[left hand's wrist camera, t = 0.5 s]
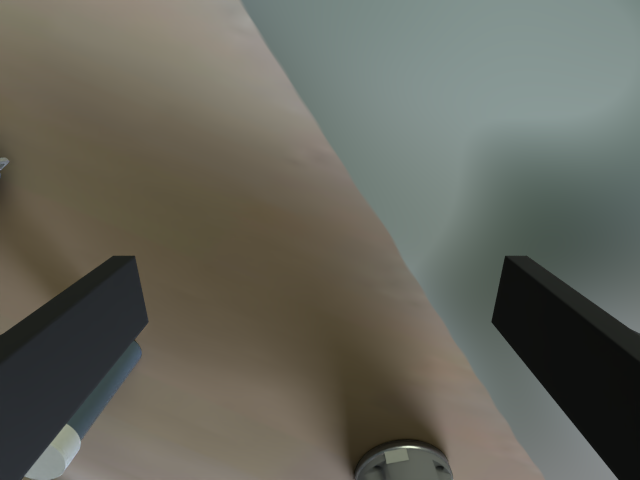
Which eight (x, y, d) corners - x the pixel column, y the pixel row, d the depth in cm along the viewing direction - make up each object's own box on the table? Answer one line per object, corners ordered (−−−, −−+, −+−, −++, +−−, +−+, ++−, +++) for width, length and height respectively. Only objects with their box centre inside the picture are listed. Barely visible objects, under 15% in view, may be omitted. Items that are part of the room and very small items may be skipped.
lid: (41, 408, 33) (21, 428, 31) (91, 438, 35) (77, 460, 33) (12, 438, 35) (-8, 459, 33) (62, 466, 36) (46, 488, 34)
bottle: (118, 329, 46) (27, 428, 32) (148, 350, 48) (74, 455, 33) (98, 350, 48) (2, 455, 33) (128, 370, 49) (48, 480, 34)
